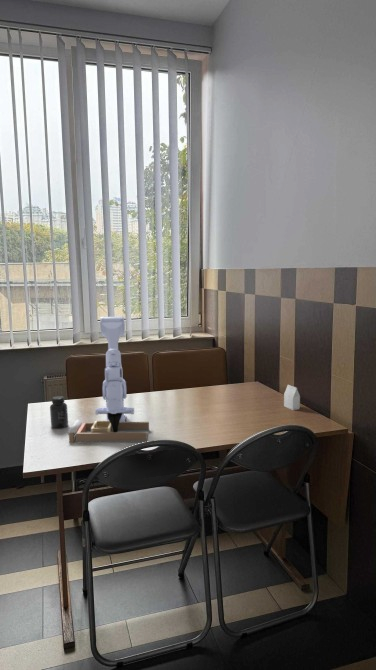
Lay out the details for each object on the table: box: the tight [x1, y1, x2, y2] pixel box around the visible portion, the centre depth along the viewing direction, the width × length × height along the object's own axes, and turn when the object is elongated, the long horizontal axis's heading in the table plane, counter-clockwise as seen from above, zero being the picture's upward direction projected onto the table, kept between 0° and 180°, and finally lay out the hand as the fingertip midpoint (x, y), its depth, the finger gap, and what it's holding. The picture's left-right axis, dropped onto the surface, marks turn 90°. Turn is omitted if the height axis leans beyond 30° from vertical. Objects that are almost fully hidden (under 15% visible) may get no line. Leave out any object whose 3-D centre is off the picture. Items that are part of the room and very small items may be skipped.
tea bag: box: [283, 384, 301, 411], centre depth 218 cm, size 4×7×10 cm, turn 24°
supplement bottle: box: [49, 395, 69, 429], centre depth 196 cm, size 7×7×12 cm
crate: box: [91, 420, 113, 433], centre depth 184 cm, size 9×7×4 cm
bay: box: [67, 419, 150, 444], centre depth 184 cm, size 13×29×5 cm, turn 90°
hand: (115, 432), depth 184 cm, fingers closed
